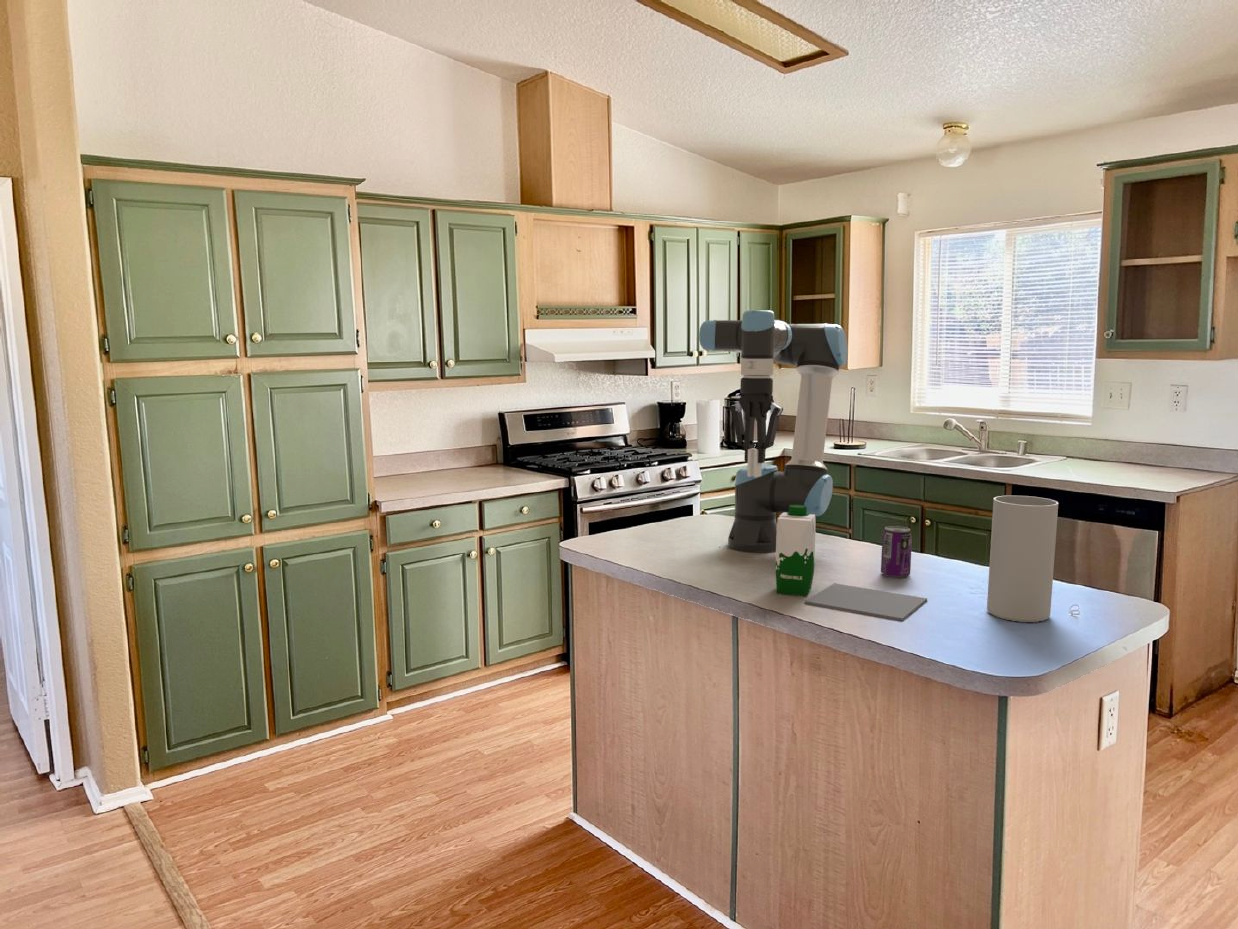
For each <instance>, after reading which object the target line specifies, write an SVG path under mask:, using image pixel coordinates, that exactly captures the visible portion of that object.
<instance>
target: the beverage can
mask: <svg viewBox="0 0 1238 929" xmlns="http://www.w3.org/2000/svg"><path fill="white" fill-rule="evenodd" d="M912 542H913V536H912V533H911V528H909V527H906V526H900V525H897V526H896V525H895V526H893V525H891V526H885V527H884V531H883V533H882V536H881V556H880V557H881V560H880V573H881V574H883V575H885V576H886V577H889V578H892V577H893V578H894V579H902V578H906V577H908V576H910V575H911V567H912V566H911V565H912V545H913V544H912Z"/></svg>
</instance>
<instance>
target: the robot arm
mask: <svg viewBox="0 0 1238 929" xmlns="http://www.w3.org/2000/svg"><path fill="white" fill-rule="evenodd" d="M741 317H742V318H741V320H736V319H735V320H733V319H730V320H729V319H725V320H722V319H720V320H719V319H713V320H706V321H703V322H702V323H701V325H700V327H699V334H698V340H699V345H700V346H701V348H702V350H704V351H712V352H715V351H716V352H718V351H721V352H722V351H724V352H733V353H737V354H738V353H740V354H741V356H740V357H741V359H740V375H741V376H743V377H741V378H740V387H739V388H740V389H739V390H740V396H739V398H738V402H736V403H734V404H731V405H729V410H730V412H731V415H732V418H733V424H734V431H735V438H736V443H737V446H740V447H743V449H744V463H747V467H742V468H740V469H738V470H737V471H736V472H735V473H736V474H735V482H734V520H733V523H732V525H731V529H730V530H729V535H728V538H727V546H728V548H731V549H733V550H736V551H740V552H749V553H771V552H776V535H777V531H776V528H777V514H782V513H783V512H786V513H788V512H789V506H790V505H805V506H807V513H806V514H814V515H815V517H820V516H822V515H824V514H825V512H826V510H827V509H828V508H829V504H830V503H831V499H832V495H833V489H834V486H833V484H834V480H833V477H832V476H831V475H829V474H828V467H826V465H825V464H824V455H825V454H824V453H825V447H826V436H827V427H828V421H829V420H828V418H829V409H830V400H831V392H832V383H833V378H835V377H836V376H837V375H838V374H839V371H840V368H841V367H844V366H845V365H846V364H847V361H848V353H849V351H848V350H849V349H848V340H847V336H846V332H845V331H844V328H843V326H841V325H839V324H837V323H833V324H832V323H827V322H825V323H787V322H786V321H783V320H781V319H775V313H774V311H773V310H765V309H764V310H760V309H759V310H757V309H750V310H745V311H744V312H743V313H742V316H741ZM774 363H776V364H780V365H781V364H782V365H788V366H796V371H797V372H798V374H799V375H800V384H799V392H798V400H797V407H796V408H797V409H796V415H795V417H796V418H795V425H794V426H795V427H794V433H793V434H794V435H793V444H792V452H791V459H790V460H789V461H787V462H786V463H785V464H784V471H779V469H778V466H777V465H773V464H765V465H763V463H765V462H766V450H767V449H768V448H771V447H772V448H773V446H774V445H775V439H776V433H777V429H778V426H779V425H778V424H779V419H780V416H781V414H782V413H783V411H784V407H783V406H779V405H777V404H776V403H775V401H774V398H773V392H774V379H773V378H772V376H773V375H774ZM742 410H743V412H744V417H743V413H742ZM769 411H770V413H771V414H770V417H769V421H768V425H767V419H768V418H767V417H768V415H767V414H768V413H769ZM743 418H744V419H743ZM744 421H745V424H744ZM755 421H756V442H757V443H756V444H757V445H756V446H757V447H755V445H754V439H755V438H754V436H755V434H754V433H755ZM744 425H745V426H744Z"/></svg>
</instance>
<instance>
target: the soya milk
mask: <svg viewBox="0 0 1238 929" xmlns="http://www.w3.org/2000/svg"><path fill="white" fill-rule="evenodd" d="M806 513H807V506H805V505H790V506H789V512H788V513H786V512H783V513H780V515H779V516H778V518H777V521H776V523H777V528H776V531H777V535H776V551H775V582H776V594H779V593H780V594H781V595H782V594H783V595H791V596H799V595H803V596H802V597H808V595H809V593H810V592H811V590H810V589H812V586H813V582H814V573H815V564H816V563H815V561H816V560H815V559H816V553H815V552H816V516H815V515H814V514H806Z"/></svg>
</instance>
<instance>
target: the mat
mask: <svg viewBox="0 0 1238 929" xmlns="http://www.w3.org/2000/svg"><path fill="white" fill-rule="evenodd" d="M926 602H928V598H926V597H922V596H921V597H920V596H917V595H916V596H915V595H910V594H902V593H896V592H891V591H885V590H884V591H883V590H880V589H879V590H878V589H872V588H865V587H859V586H855V585H848V584H841V583H832V584H831V585H829V586H828V587H826V588H824V589H822V590H820V591H819V592H817V593H815V594H814V595H812V596H811V597H809V598H807V599H805V600H804V602H803V603H804V604H806V605H811V606H815V607H822V608H827V609H834V610H838V611H844V612H850V613H855V614H860V615H861V614H862V615H865V616H866V615H867V616H872V617H878V618H882V619H889V620H892V621H893V620H895V621H900V622H904V620H906V619H907V618H908V617H910V616H911V615H912V614H913V613H914V612H916V611H917V610H918V609H919V608H920V607H922V605H924V604H925V603H926Z"/></svg>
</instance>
